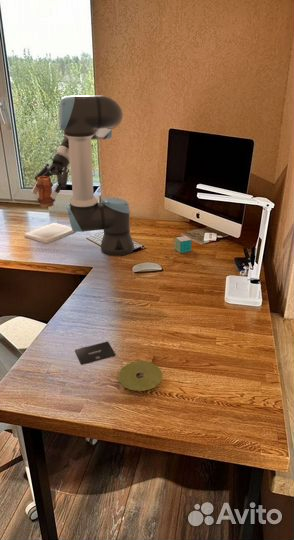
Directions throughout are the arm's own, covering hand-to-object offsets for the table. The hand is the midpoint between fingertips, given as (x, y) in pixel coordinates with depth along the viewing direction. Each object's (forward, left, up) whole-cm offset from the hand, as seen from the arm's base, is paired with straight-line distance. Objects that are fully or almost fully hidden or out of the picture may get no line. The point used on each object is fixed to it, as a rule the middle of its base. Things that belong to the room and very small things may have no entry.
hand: (42, 195), depth 189 cm
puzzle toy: (-65, -21, -20) cm, 71 cm away
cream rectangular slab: (0, -2, -20) cm, 20 cm away
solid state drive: (-82, +57, -21) cm, 102 cm away
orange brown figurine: (0, -2, -7) cm, 7 cm away
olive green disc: (-99, +60, -20) cm, 117 cm away
